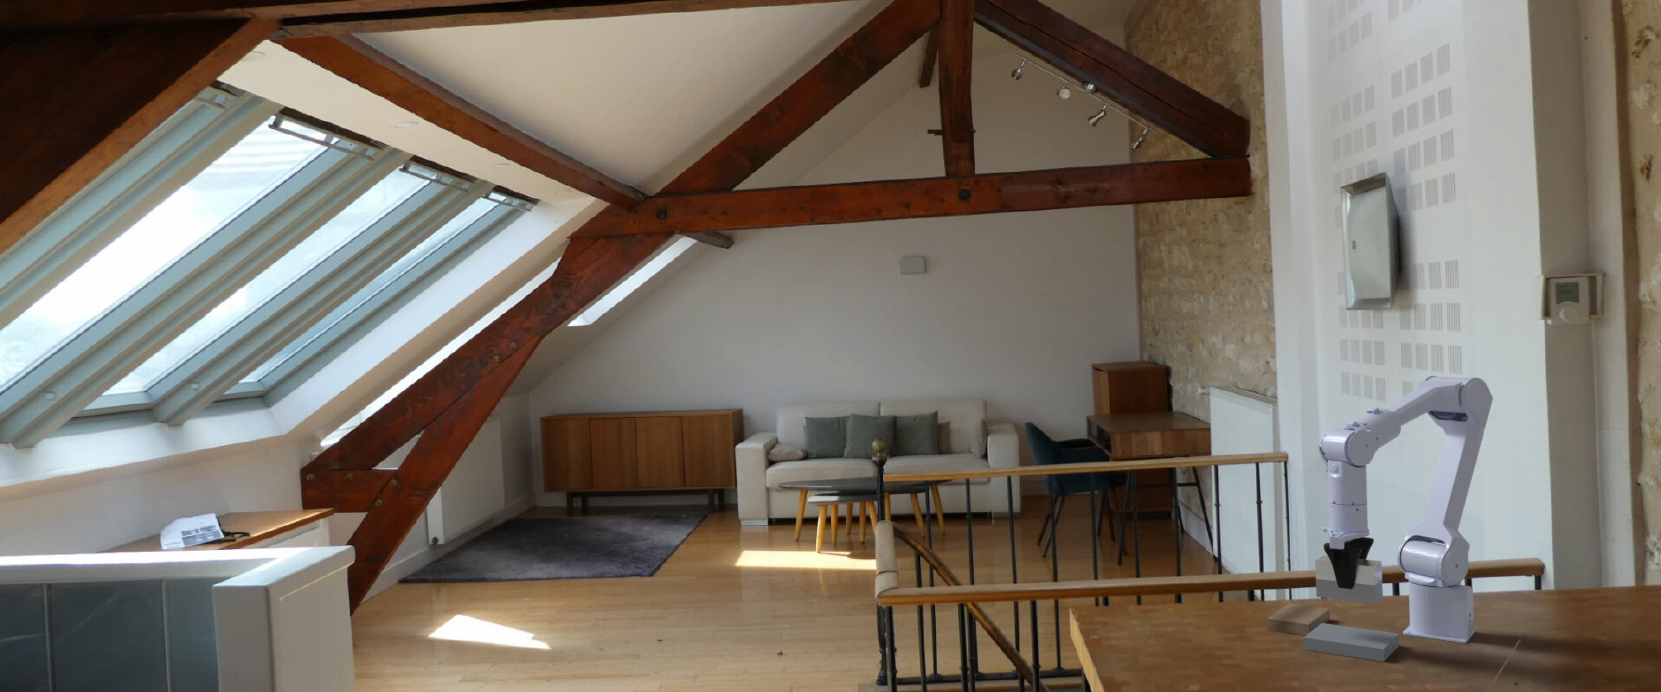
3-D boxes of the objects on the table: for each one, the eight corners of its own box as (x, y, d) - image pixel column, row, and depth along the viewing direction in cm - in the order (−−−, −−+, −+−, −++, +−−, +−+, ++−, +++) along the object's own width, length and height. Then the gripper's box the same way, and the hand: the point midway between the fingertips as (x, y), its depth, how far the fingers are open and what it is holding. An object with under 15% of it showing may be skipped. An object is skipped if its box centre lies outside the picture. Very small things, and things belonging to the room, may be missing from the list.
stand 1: (1329, 619, 197) (1329, 608, 197) (1309, 636, 188) (1309, 624, 188) (1289, 614, 202) (1288, 603, 202) (1267, 629, 192) (1267, 618, 192)
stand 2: (1399, 645, 181) (1398, 633, 181) (1383, 661, 173) (1383, 649, 173) (1322, 634, 188) (1321, 622, 188) (1304, 649, 181) (1303, 637, 181)
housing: (1324, 590, 185) (1323, 555, 185) (1382, 597, 180) (1381, 561, 179) (1316, 596, 182) (1315, 560, 182) (1375, 603, 176) (1374, 566, 176)
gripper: (1334, 494, 188) (1336, 572, 189) (1308, 507, 177) (1311, 591, 178) (1379, 497, 184) (1381, 577, 184) (1355, 510, 173) (1358, 596, 173)
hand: (1350, 584), depth 181 cm, fingers closed on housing, 4 cm apart
